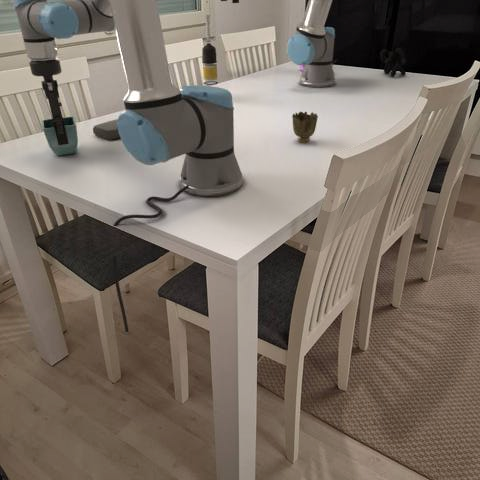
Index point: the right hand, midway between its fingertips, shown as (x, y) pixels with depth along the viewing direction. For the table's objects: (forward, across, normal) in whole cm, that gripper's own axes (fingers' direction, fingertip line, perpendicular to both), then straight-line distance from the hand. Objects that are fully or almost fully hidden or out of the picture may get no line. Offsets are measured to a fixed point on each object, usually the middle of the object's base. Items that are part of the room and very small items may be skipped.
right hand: (229, 2), depth 189 cm
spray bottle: (+32, -51, +56) cm, 82 cm away
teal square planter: (+32, -64, +78) cm, 106 cm away
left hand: (+28, -64, +78) cm, 105 cm away
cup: (+32, -86, +11) cm, 93 cm away
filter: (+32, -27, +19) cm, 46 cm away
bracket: (+32, +6, -46) cm, 56 cm away
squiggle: (+32, -25, -72) cm, 83 cm away
